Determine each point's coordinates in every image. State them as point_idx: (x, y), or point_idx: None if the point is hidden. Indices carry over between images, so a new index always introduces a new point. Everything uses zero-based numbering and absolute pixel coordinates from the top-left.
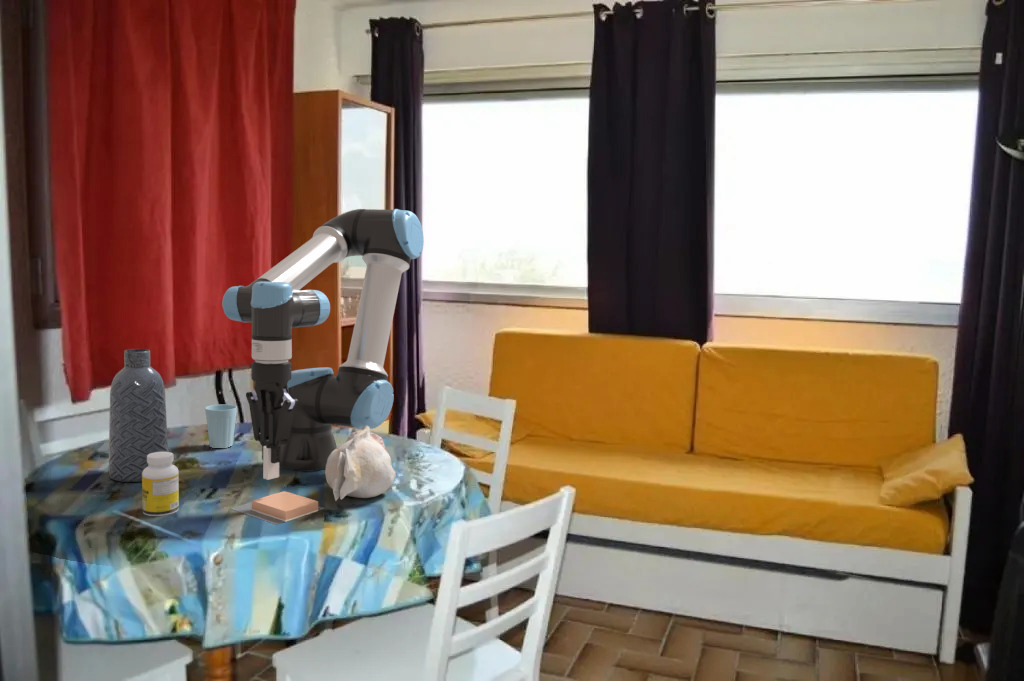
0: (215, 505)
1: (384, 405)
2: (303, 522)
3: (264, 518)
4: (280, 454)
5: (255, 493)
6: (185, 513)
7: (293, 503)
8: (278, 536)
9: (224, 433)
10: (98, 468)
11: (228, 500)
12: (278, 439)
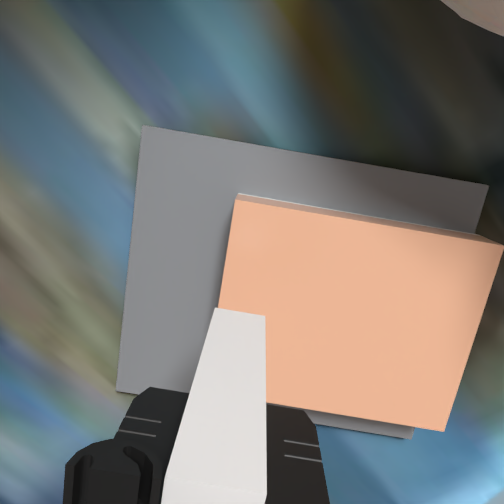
0: (16, 361)
1: None
2: (473, 347)
3: (324, 414)
4: (322, 464)
5: (15, 147)
6: (7, 474)
7: (408, 334)
8: (470, 493)
9: None
10: None
11: (3, 289)
12: None
